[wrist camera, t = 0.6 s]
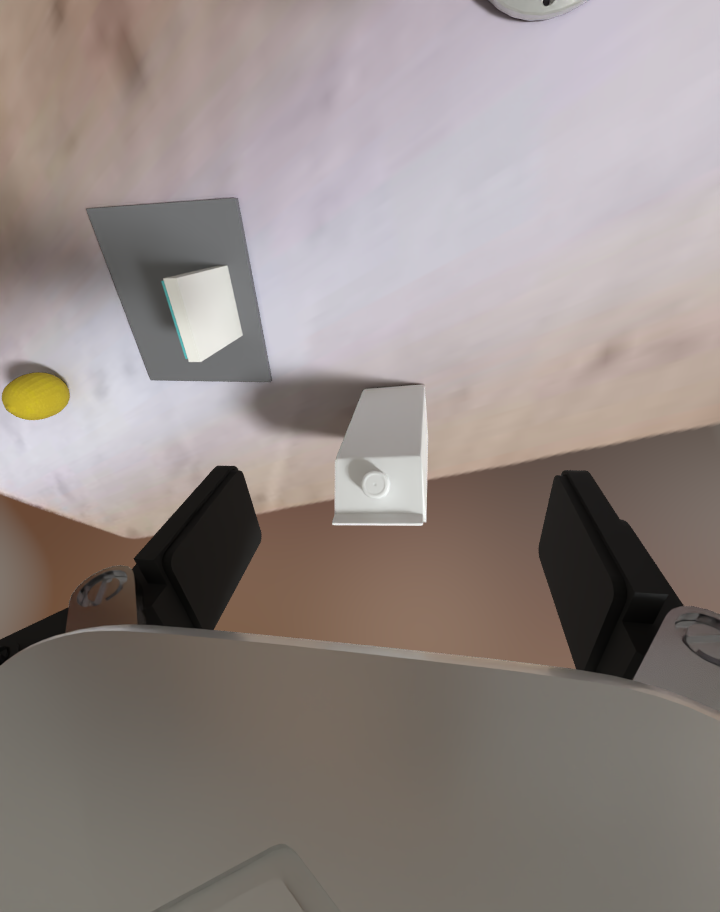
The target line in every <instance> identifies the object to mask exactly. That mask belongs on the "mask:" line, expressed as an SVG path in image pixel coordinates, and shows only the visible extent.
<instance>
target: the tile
mask: <svg viewBox="0 0 720 912" xmlns="http://www.w3.org/2000/svg"><path fill="white" fill-rule="evenodd" d="M161 282H162V285H163V289H164V292H165V295H166V298H167V301H168V305H169V308H170V311H171V314H172V317H173V321H174V324H175V327H176V330H177V333H178V336H179V340H180V343H181V346H182V349H183V352H184V356H185V359H188V360H189V362H202V361H203V360H205V359H206V358H208V357H210V356H211V355H213V354H214V353H216V352H217V351H219V350H221V349H222V348H224V347H225V346H227V345H228V344H230V343H232V342H233V341H235V340H236V339H238V338H239V337H241V336H243V334H242V329H241V325H240V320H239V316H238V311H237V307H236V302H235V298H234V293H233V288H232V284H231V279H230V275H229V270H228V266H227V265H226V266H214V267H210V268H206V269H201V270H197V271H193V272H189V273H184V274H180V275H176V276H172V277H168V278H163V281H161Z"/></svg>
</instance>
